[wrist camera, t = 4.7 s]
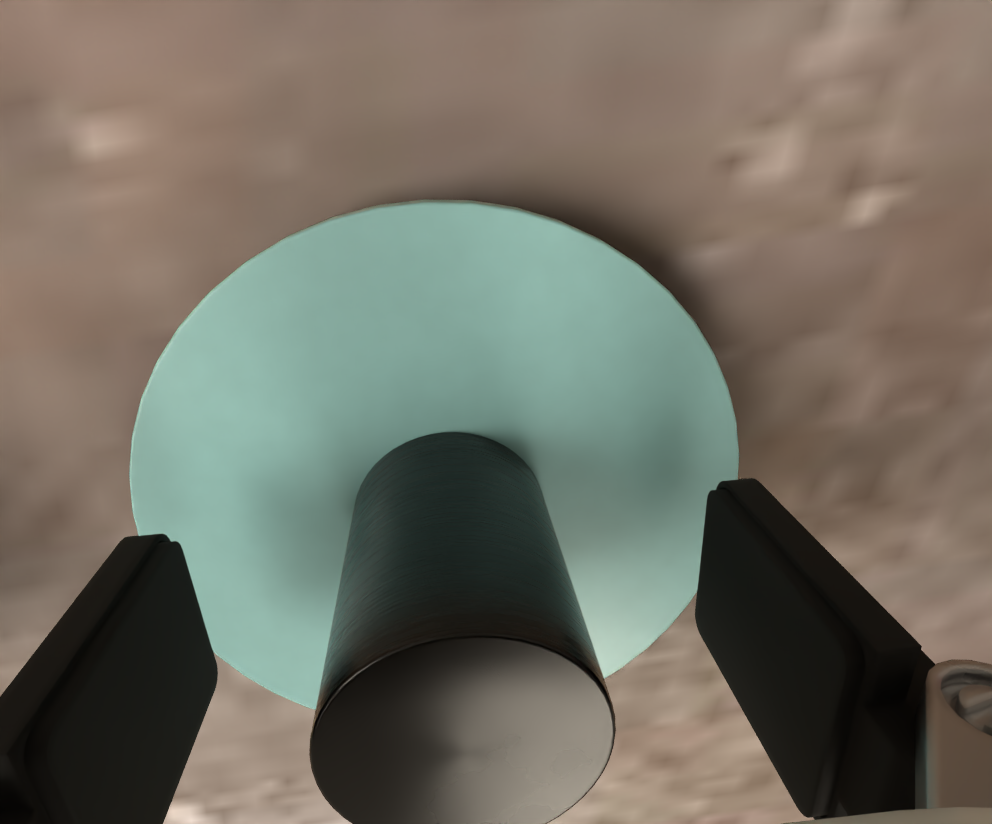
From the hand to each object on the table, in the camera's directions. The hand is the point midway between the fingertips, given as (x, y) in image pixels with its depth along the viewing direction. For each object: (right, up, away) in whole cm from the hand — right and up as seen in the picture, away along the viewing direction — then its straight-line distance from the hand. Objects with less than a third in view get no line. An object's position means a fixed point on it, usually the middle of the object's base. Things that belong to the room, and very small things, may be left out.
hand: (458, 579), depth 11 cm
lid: (0, +1, +2) cm, 2 cm away
